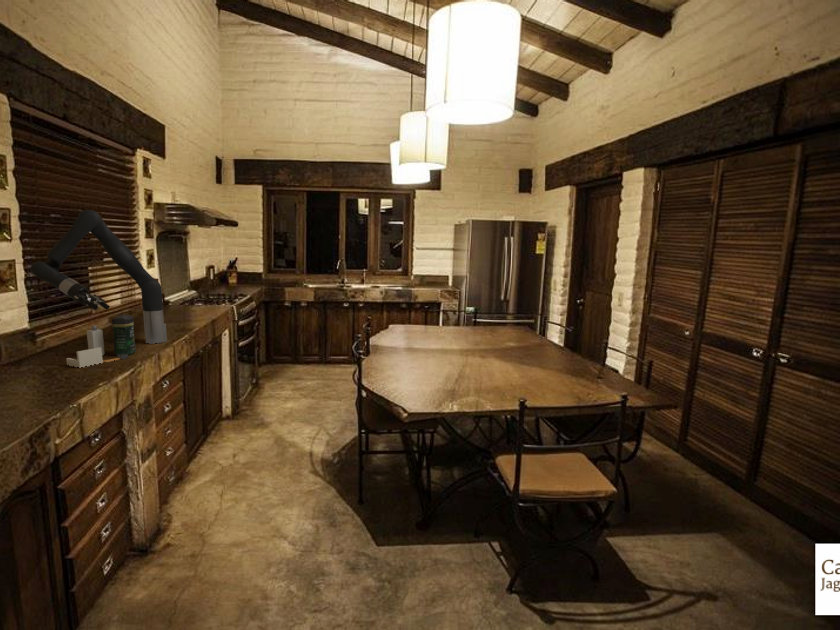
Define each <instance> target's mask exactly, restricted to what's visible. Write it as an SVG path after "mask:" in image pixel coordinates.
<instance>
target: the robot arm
mask: <svg viewBox="0 0 840 630" xmlns="http://www.w3.org/2000/svg"><path fill="white" fill-rule="evenodd" d="M89 233H91V234H92V235H93V236H94V237H95V238H96V239H97V240H98V242H99V243H100V244H101V246H102V248H103V249H104V251H105V252H106V254H107V255H108V256H109V257H110V259H112V261H114V262H115V264H116V265H117V266H118V267H119V268H120V269H122V270H123V271H124V272H125V273H126V274H127V275H129V276H130V278H132V279H133V280H134V282H135V283H136V284H137V286H138V288H139V289H140V290H141V292H140V293H141V303H142V312H143V313H142V315H143V326H144V327H143V328H144V339H145V344H147V343H149V344H150V345H155V343H157V344H163V343H165V342H167V341H168V337H167V336H168V335H167V323H165V321H164V320H165V317H164V302H163V289H162V285H161V284H160V282H159V281H158V280H156V279H155V278H154V276H152V275H151V274H150V273H149V272H148V271H147V270H146V269H145V267H144V266H143V265H142V264H141V262H140V261H139V259H138V258H137V256H136V255H135V254H134V252H133V251H132V250H131V249H130V248H129V246H127V245H126V243H124V242H123V241H122V240H121V239H120V238H119V237H118V236H117V235H116V234H115V233H114V232H113V231H112V230H111V229H110V227H108V225H107V224H106V222H105V221H104V219H103V218H102V217H101V215H100V214H99V213H98V212H97V211H95V210H92V209H84V210H82V211H80V212H79V213H78V215H77V218H76V219H75V221H74V222H73V224H72V225H71V227H70V228H69V230H67V231H66V233H64V235H63V236H62V237H61V238H60V239H59V240H58V241H57V242H56V243H55V244H54V245H53V247H51V249H50V250H49V251H48V252H47V253H46V257H47V258H48V259H47V261H46V262H44V261H36V262H34V263H32V264H31V266H30V271H31V273H32V274H33V275H34V276H35V277H37V278H39V279H40V280H42V281H45V282H47V283H48V284H50V285H52V286H53V287H54V288H56V289H58V290H60V291H61V292H62V293H63V294H65V295H66V296H67V297H69V298H71V299H72V300H74V301H76V302H78V303H79V304H80V305H82V306H87V307H89V308H91V309H93V310H95V311H97V310H98V308H99V306H100V307H101V308H103V309H105V310H107V311H108V310H109V309H110V307H111V306H110V305H109V304H108V303H106V300H105V299H103V298H102V297H100V296H99V295H97V294H91V293H89V288H88V287H86V286H85V285H83V284H81V283H80V282H78V281H76V280H75V279H73V278H71V277H70V276H68V275H66V274H65V273H62V272H60V269H61V267H62V265H63V263H64V262H65V260H67V258H68V257H69V256H70V255H71V254H72V253H73V251H74V250H75V249H76V247H77V246H78V244H79V243H80V242H81V240H83V238H84V237H86V235H87V234H89ZM162 342H163V343H162ZM149 344H148V345H149Z"/></svg>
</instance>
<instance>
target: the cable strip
mask: <svg viewBox="0 0 840 630" xmlns="http://www.w3.org/2000/svg"><path fill="white" fill-rule="evenodd" d="M114 360H115V361H119V360H122V359H121V358H118V357H116V358H111V359H103V363H110V362H114Z"/></svg>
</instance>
